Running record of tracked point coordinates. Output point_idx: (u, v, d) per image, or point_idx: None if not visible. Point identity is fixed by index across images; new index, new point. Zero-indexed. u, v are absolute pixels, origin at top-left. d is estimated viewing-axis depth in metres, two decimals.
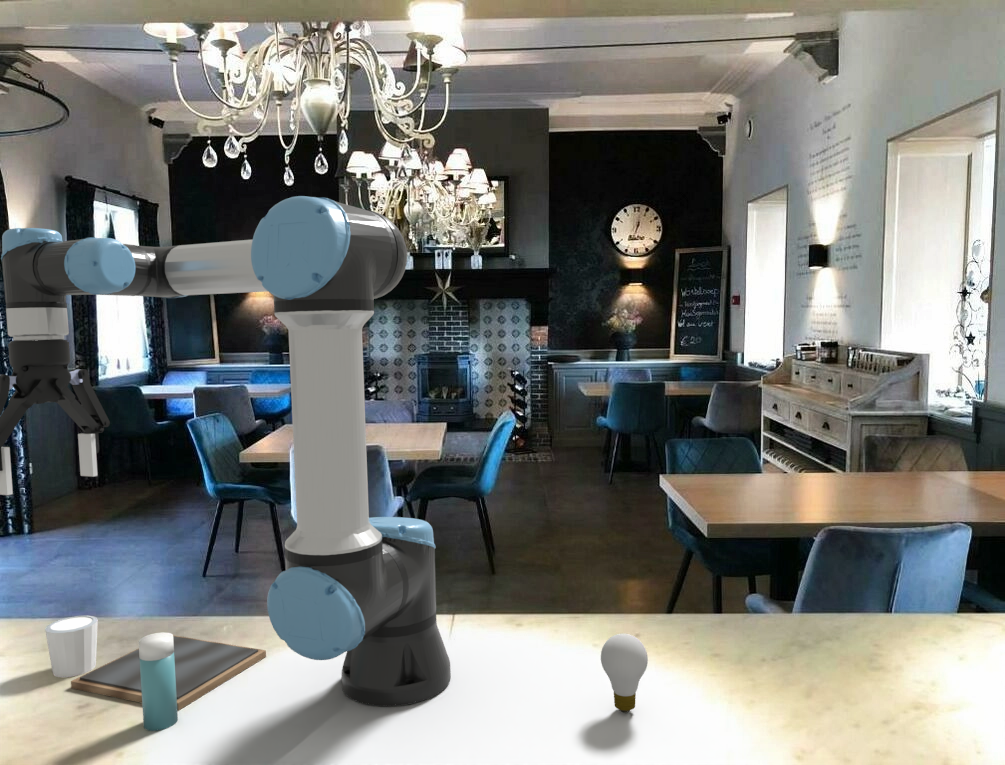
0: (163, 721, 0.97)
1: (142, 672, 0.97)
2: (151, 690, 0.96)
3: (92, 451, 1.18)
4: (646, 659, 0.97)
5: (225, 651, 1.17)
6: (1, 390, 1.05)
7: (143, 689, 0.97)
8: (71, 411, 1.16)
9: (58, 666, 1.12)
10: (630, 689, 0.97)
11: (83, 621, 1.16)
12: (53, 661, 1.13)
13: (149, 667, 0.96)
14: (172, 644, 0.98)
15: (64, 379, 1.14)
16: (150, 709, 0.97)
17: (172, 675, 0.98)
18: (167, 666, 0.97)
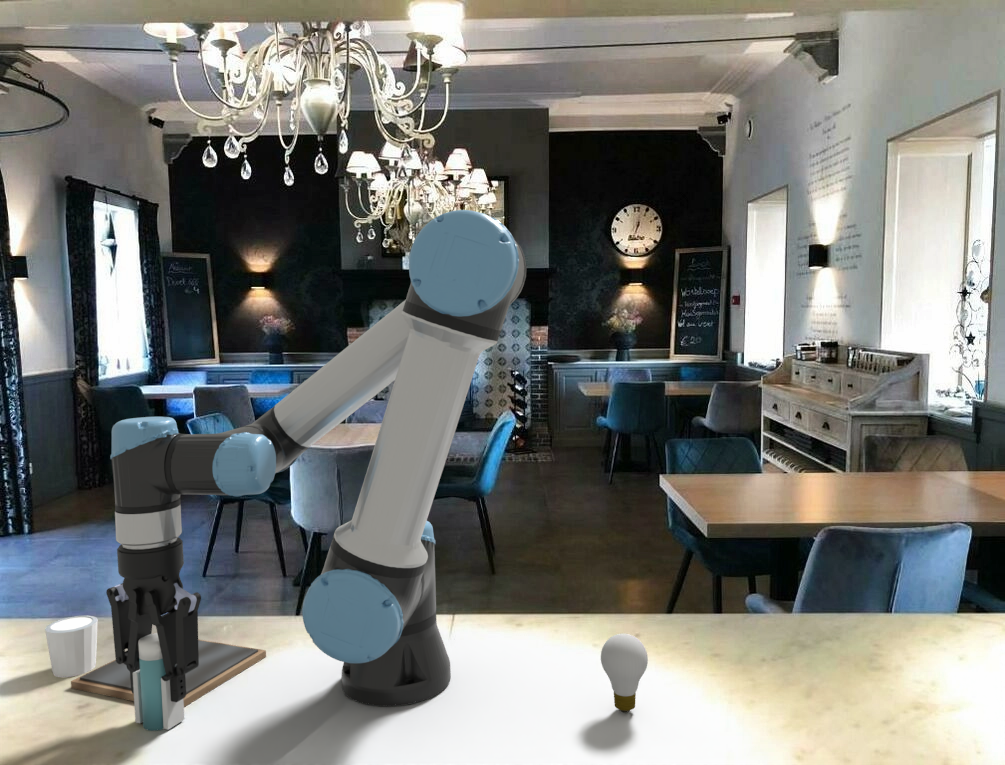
0: (162, 721, 0.97)
1: (142, 672, 0.97)
2: (151, 690, 0.96)
3: (162, 699, 0.96)
4: (646, 659, 0.97)
5: (225, 651, 1.17)
6: (111, 605, 0.99)
7: (143, 689, 0.97)
8: None
9: (58, 666, 1.12)
10: (630, 689, 0.97)
11: (83, 621, 1.16)
12: (53, 661, 1.13)
13: (149, 667, 0.96)
14: None
15: (162, 592, 0.95)
16: (149, 709, 0.97)
17: None
18: None
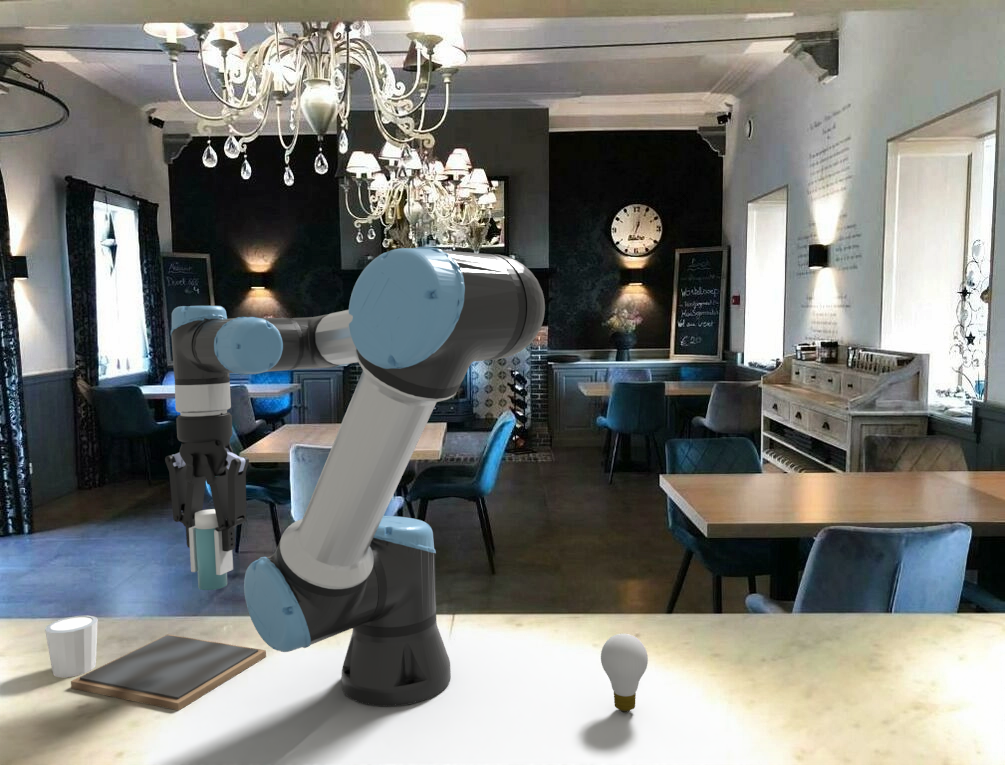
0: (216, 582, 1.12)
1: (198, 539, 1.12)
2: (206, 555, 1.12)
3: (215, 548, 1.12)
4: (646, 659, 0.97)
5: (225, 651, 1.17)
6: (169, 471, 1.14)
7: (199, 554, 1.12)
8: None
9: (58, 666, 1.12)
10: (630, 689, 0.97)
11: (83, 621, 1.16)
12: (53, 661, 1.13)
13: (204, 535, 1.12)
14: None
15: (215, 455, 1.11)
16: (205, 572, 1.12)
17: None
18: None
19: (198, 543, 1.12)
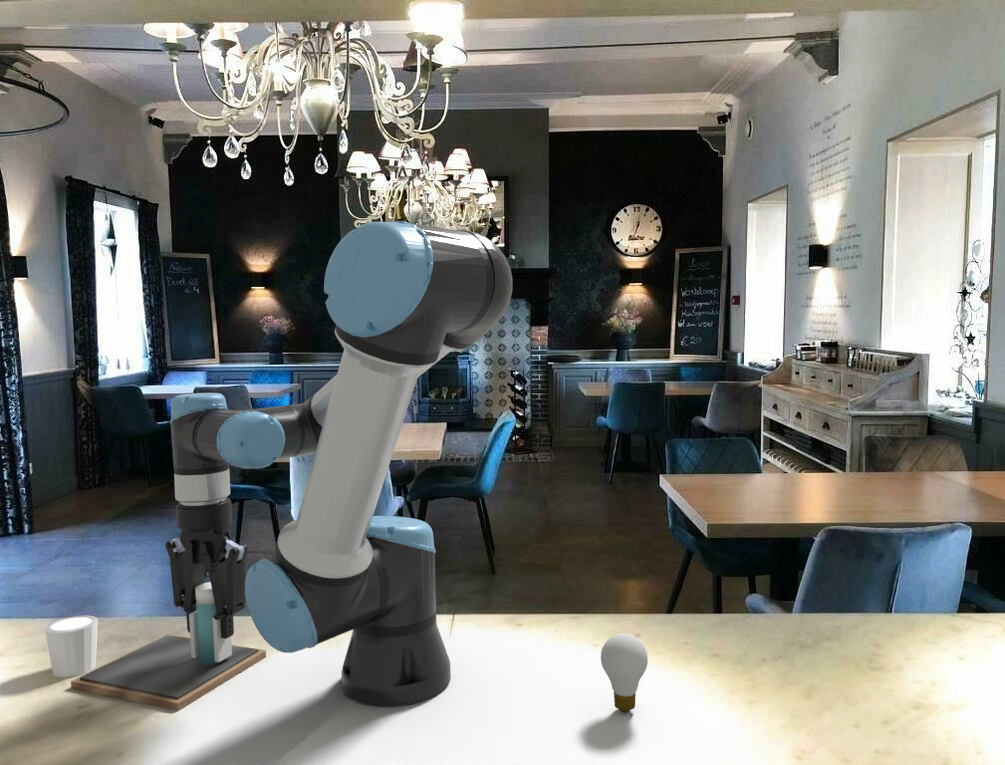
0: None
1: (199, 614, 1.12)
2: (207, 630, 1.12)
3: (214, 635, 1.12)
4: (646, 659, 0.97)
5: None
6: (169, 556, 1.14)
7: (200, 629, 1.13)
8: None
9: (58, 666, 1.12)
10: (630, 689, 0.97)
11: (83, 621, 1.16)
12: (53, 661, 1.13)
13: (206, 610, 1.12)
14: None
15: (214, 543, 1.11)
16: (206, 646, 1.12)
17: None
18: None
19: (199, 618, 1.12)
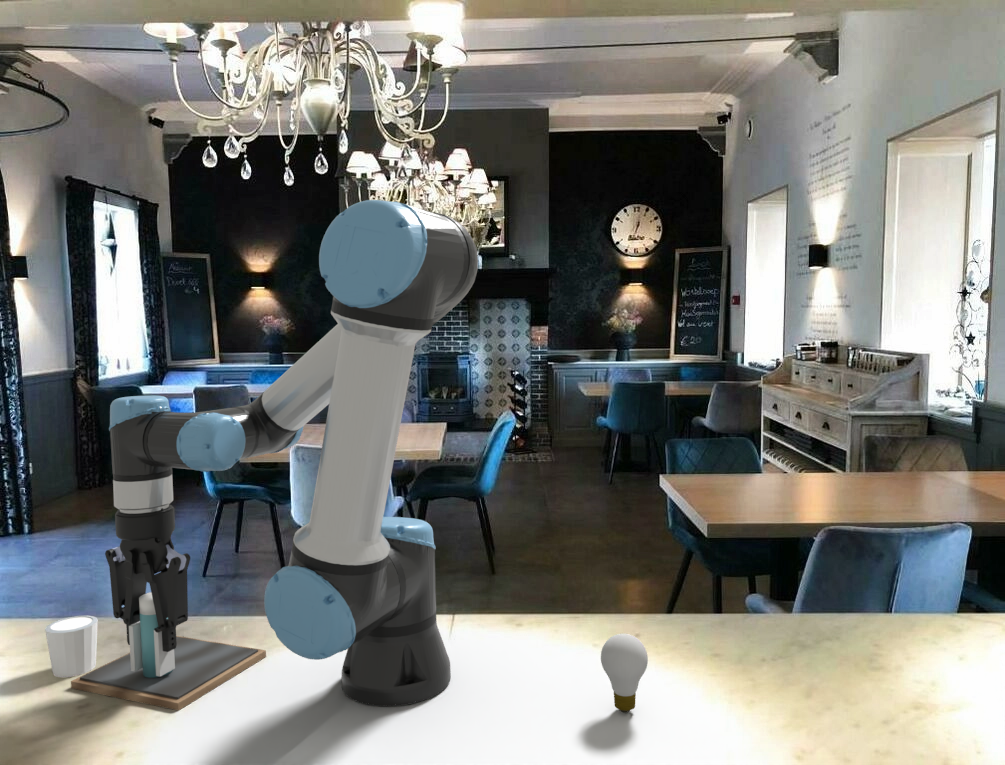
0: None
1: (143, 625, 1.08)
2: (152, 641, 1.08)
3: (155, 648, 1.07)
4: (646, 659, 0.97)
5: (225, 651, 1.17)
6: (109, 565, 1.09)
7: (144, 641, 1.08)
8: None
9: (58, 666, 1.12)
10: (630, 689, 0.97)
11: (83, 621, 1.16)
12: (53, 661, 1.13)
13: (150, 621, 1.08)
14: None
15: (155, 552, 1.06)
16: (150, 658, 1.08)
17: None
18: None
19: (143, 629, 1.08)
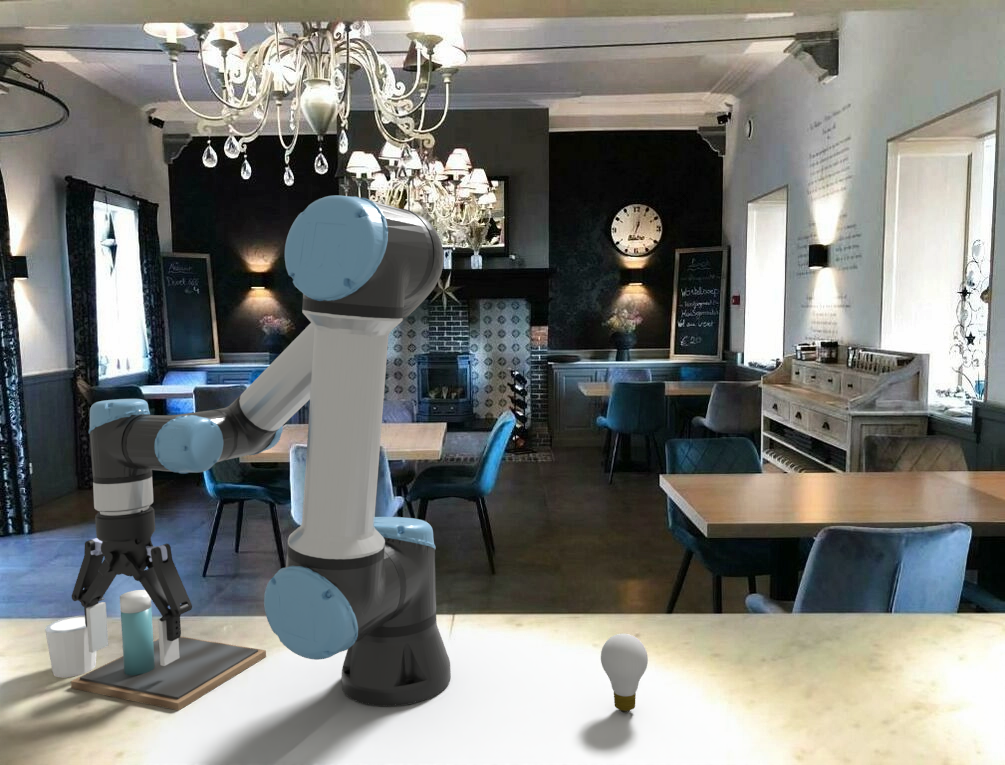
0: (143, 666, 1.10)
1: (124, 624, 1.09)
2: (133, 639, 1.09)
3: (159, 638, 1.07)
4: (646, 659, 0.97)
5: (225, 651, 1.17)
6: (84, 555, 1.11)
7: (125, 639, 1.10)
8: None
9: (58, 666, 1.12)
10: (630, 689, 0.97)
11: (83, 621, 1.16)
12: (53, 661, 1.13)
13: (131, 619, 1.09)
14: (150, 599, 1.11)
15: (135, 555, 1.08)
16: (131, 656, 1.10)
17: (151, 626, 1.11)
18: (146, 618, 1.10)
19: (124, 627, 1.09)
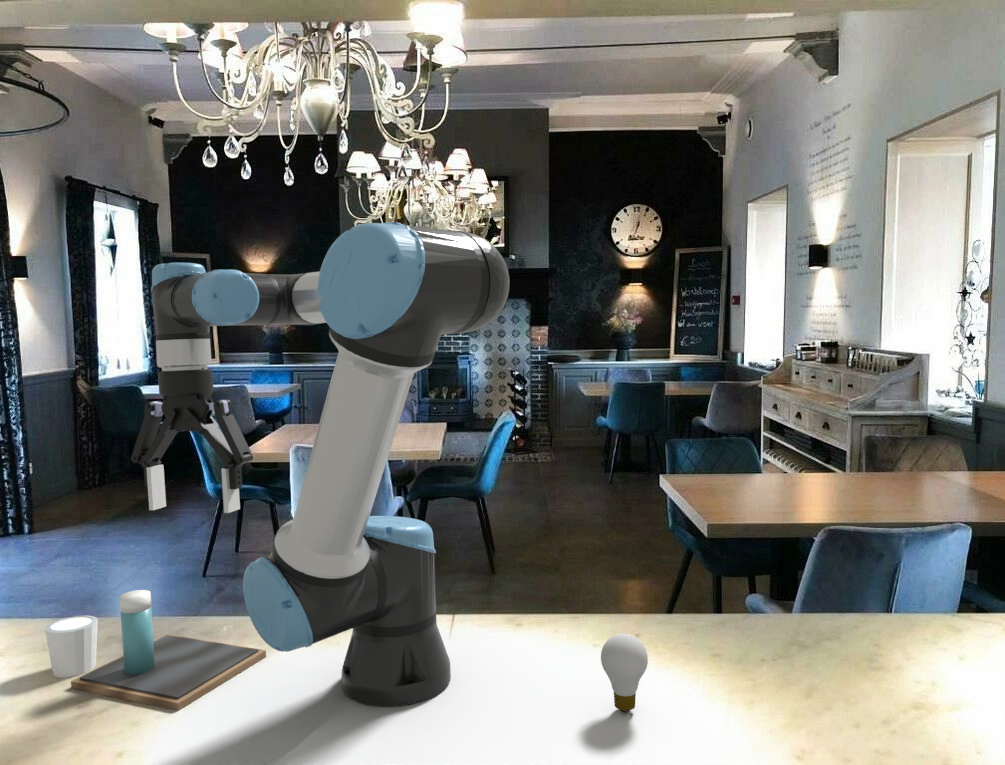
0: (143, 666, 1.10)
1: (124, 624, 1.09)
2: (133, 639, 1.09)
3: (223, 486, 1.13)
4: (646, 659, 0.97)
5: (225, 651, 1.17)
6: (145, 416, 1.17)
7: (125, 639, 1.10)
8: None
9: (58, 666, 1.12)
10: (630, 689, 0.97)
11: (83, 621, 1.16)
12: (53, 661, 1.13)
13: (131, 619, 1.09)
14: (150, 599, 1.11)
15: (198, 409, 1.14)
16: (131, 656, 1.10)
17: (151, 626, 1.11)
18: (146, 618, 1.10)
19: (124, 627, 1.09)
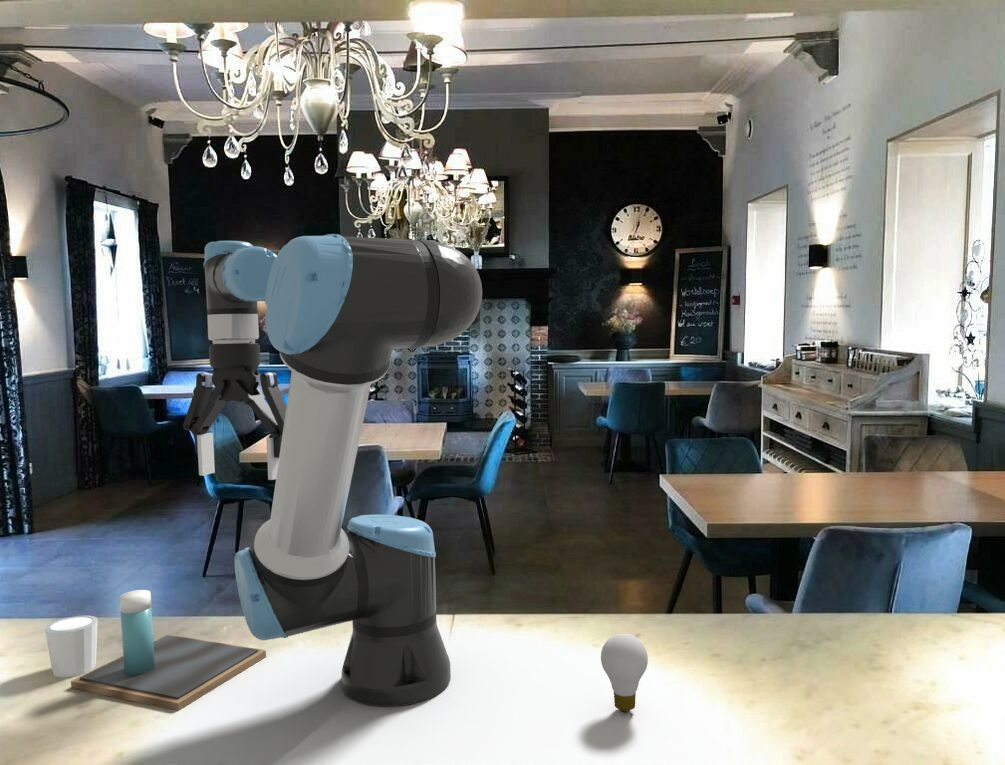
0: (143, 666, 1.10)
1: (124, 624, 1.09)
2: (133, 639, 1.09)
3: (267, 454, 1.19)
4: (646, 659, 0.97)
5: (225, 651, 1.17)
6: (196, 386, 1.23)
7: (125, 639, 1.10)
8: None
9: (58, 667, 1.12)
10: (630, 689, 0.97)
11: (83, 621, 1.16)
12: (53, 661, 1.13)
13: (131, 619, 1.09)
14: (150, 599, 1.11)
15: (245, 381, 1.19)
16: (131, 656, 1.10)
17: (151, 626, 1.11)
18: (146, 618, 1.10)
19: (124, 627, 1.09)
